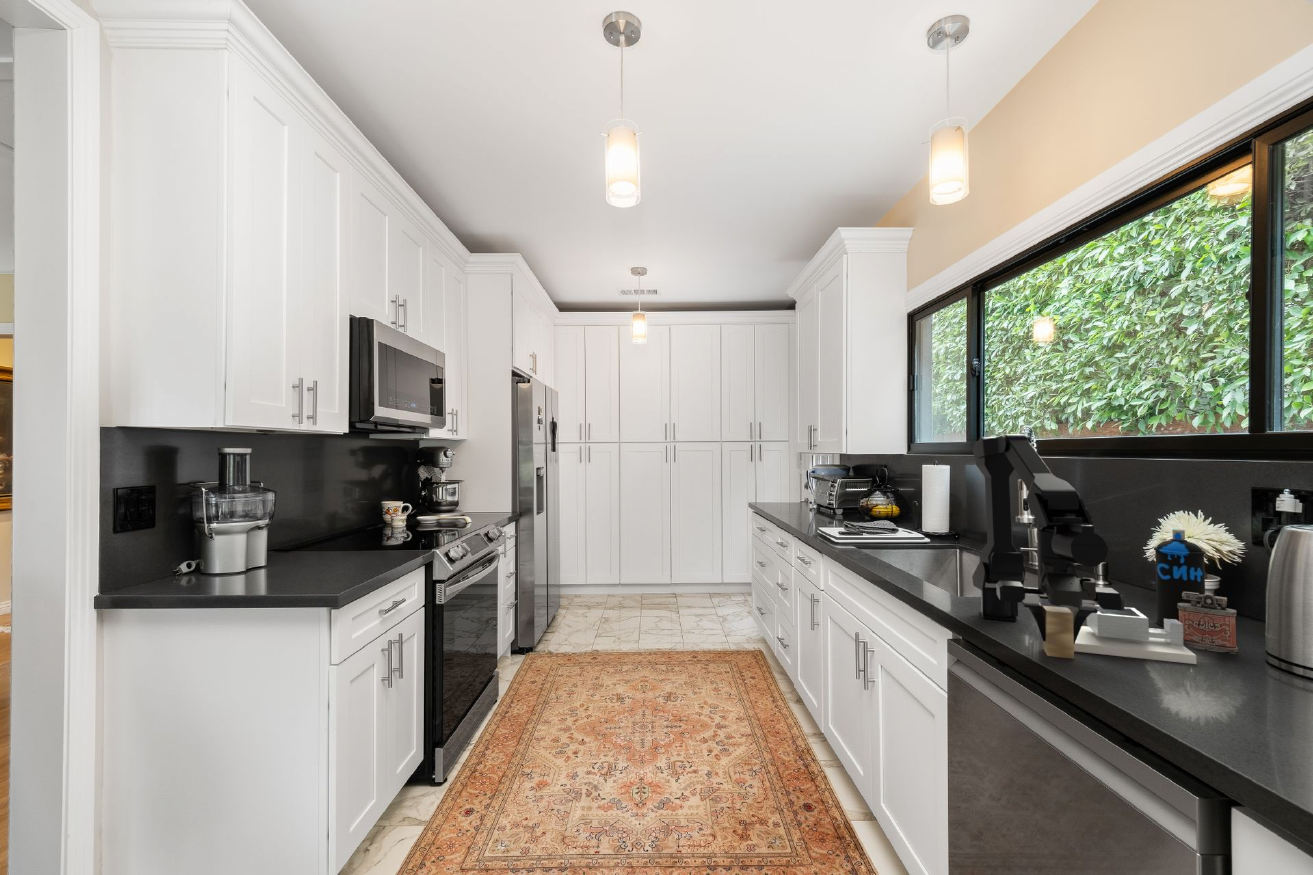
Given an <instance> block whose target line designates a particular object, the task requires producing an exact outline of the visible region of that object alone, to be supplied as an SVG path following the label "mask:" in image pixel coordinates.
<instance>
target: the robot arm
mask: <svg viewBox="0 0 1313 875" xmlns="http://www.w3.org/2000/svg"><path fill="white" fill-rule="evenodd" d="M972 453H973V456H974V459H975V465H976V467H977V468H978V470H979V472H980V473H981V474H982V476H983V477H984V483H985V484H984V490H985V510H986V512H985V514H986V516H985V517H986V537H987V543H986V544H985V545H984V547H983V548H982V550H981V552H980V553H979V563H978V564H977V566H976V569H975V570H974V572H973V574H972V578H971V579H972V583H973V584H972V585H973V587H975V588H977V589H979V590H980V604H981V605H980V606H981V607H980V609H979V611H980V612H979V613H980V614H981V616H982V618H983V619H989V620H1001V621H1011V622H1016V621H1017V620H1018V619H1017V618H1018V617H1019V603H1021V605H1022V606H1023V608H1027V609H1029V612H1030V613H1031V615H1032V617H1033V620H1034V622H1035V625H1036V628H1037V630H1038V632H1039V635H1040V638H1041V641H1042V642H1043V641H1044V642H1045V641H1046V632H1045V625H1044V619H1043V606H1044V605H1042V604H1041V602H1040V601H1041V600H1040V599H1042V600H1045V599H1046V600H1047V601H1048V603H1049V604H1050V605H1052V606H1054V607H1061V606H1068V607H1070V611H1071V612H1072V613H1073V634H1074V644H1075V641H1076V639H1077V636H1078V634H1079V631H1080V629H1081V627H1082V626H1083V624H1084V622H1085V621H1086V620H1087V617H1088V616H1089V615H1090V614H1091V613H1098V610H1097V609H1096V608H1095V605H1099V606H1100V607H1101V608H1103V609H1106V610H1119V611H1123V610H1124V607H1125V599H1124V595H1122V594H1121V593H1120V592H1118V591H1117V590H1115V589H1113V588H1112V587H1099V586H1097V585H1096V581H1095V578H1093V577H1078V574H1077V566H1076V564H1077V565H1080V566H1083V567H1087V568H1093V567H1097V566H1098V565H1100V564H1103V562H1105V561H1106V559H1107V556H1108V555H1109V554H1108V553H1109V547H1108V546H1107V542H1106V540H1104V538H1102V536H1100V535H1099V534H1097V533H1095V526H1094V523H1093V522H1092V518H1093V517H1092V515H1091V513H1090V512H1089V511H1088V508H1087V507H1086V505H1085V503H1084V500H1083V498H1082V496H1081V495H1080V494H1079V492H1078V491H1077V489H1075V488H1074V487H1073V486H1072V485H1071V484H1070V483H1069V482H1068V481H1066V480H1064V479H1062V478H1059V477H1057V476H1056V475H1054V474H1053V473H1052V471H1051V470H1050V468H1049V467H1048V466H1047V464H1046V463H1045V461H1044V460H1043V459H1042V458H1041V456H1040V455H1039V453H1038V452H1037V451H1036V449H1035V448H1034V446H1033V445H1032V444H1031V438H1030V436H1028V435H1025V434H1024V433H1022V434H1021V433H1019V434H1016V433H1015V434H1014V433H1012V434H1009V433H1008V434H1003V435H999V436H995V437H992V436H991V437H989V436H988V437H987V436H986V437H983V436H982V437H980V438H979V439H978V441H976V442H974V443H973V447H972ZM1014 471H1016V474H1017V475H1018V476H1019V478H1020V480H1021V481H1022V483H1023V484H1024V485H1025V488H1026V489H1027V496H1026V498H1025V499H1026V502H1027V503H1026V504H1027V505H1028V506H1027V507H1028V509H1029V511H1030V512H1031V514H1032V515H1033V517H1034V519H1035V521H1034V522H1033V523H1032V524H1031V525H1032V528H1034V529H1036V539H1037V540H1036V545H1037V546H1036V548H1037V549H1036V550H1037V551H1036V552H1037V557H1036V558H1037V587H1031V586H1029V587H1028V586H1024V585H1025V580H1026V568H1025V565H1024V560H1025V559H1024V555H1023V553H1022V552H1019V551H1018V549H1017V548H1016V547H1015V545H1014V541H1013V522H1012V518H1013V517H1012V500H1011V498H1012V497H1011V476H1012V474H1013V473H1014Z"/></svg>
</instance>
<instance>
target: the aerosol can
mask: <svg viewBox="0 0 1313 875" xmlns="http://www.w3.org/2000/svg"><path fill="white" fill-rule="evenodd" d="M1171 531H1172V538H1171V539H1170V540H1169V539H1167V540H1164V541H1162V542H1160V543H1158V544H1157V545H1156V546H1154V547H1153V550H1154V552H1155V553H1154V555H1155V556H1154V557H1155V579H1156V580H1155V589H1156V590H1155V591H1156V620H1155V623H1156V624H1157V625H1159V626H1160V627H1161V626H1162V627H1164V619H1176V620H1178V621H1179V608H1178V603H1188V604H1191V601H1192V600H1189V599H1183V598H1182V593H1183V592H1192V593H1199V594H1200V595H1204V594H1205V593H1206V580H1205V579H1206V573H1205V568H1206V567H1205V555H1206V553H1207V552H1206V551H1205V550H1203V548H1201V547H1200V545H1198V544H1196V543H1194V542H1190V541H1189V540H1187V539H1186V530H1185V529H1180V528H1173V529H1172V530H1171ZM1196 601H1197V600H1196ZM1201 602H1202V601H1197V604H1198V605H1200V603H1201Z"/></svg>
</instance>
